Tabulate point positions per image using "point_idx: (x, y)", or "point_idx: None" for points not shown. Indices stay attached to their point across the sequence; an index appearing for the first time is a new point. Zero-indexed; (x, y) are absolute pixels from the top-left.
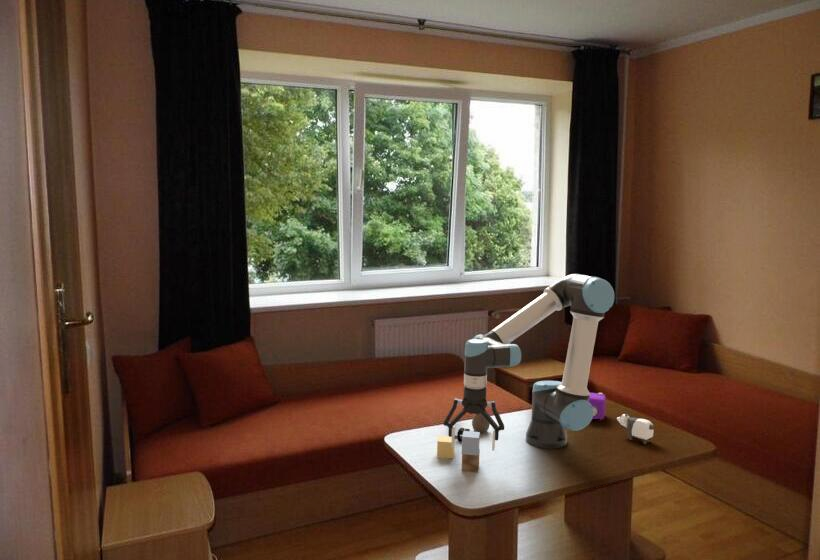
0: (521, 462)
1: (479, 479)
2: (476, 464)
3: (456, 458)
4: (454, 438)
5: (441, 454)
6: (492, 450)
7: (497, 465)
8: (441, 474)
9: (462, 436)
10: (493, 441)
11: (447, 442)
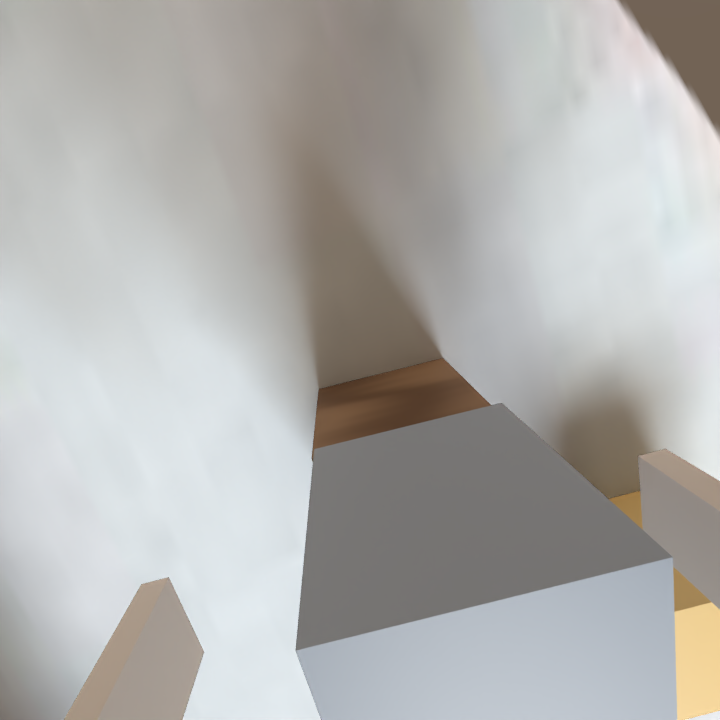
0: None
1: (263, 271)
2: (332, 408)
3: None
4: (709, 598)
5: None
6: (164, 580)
7: (231, 554)
8: (575, 221)
9: (666, 570)
10: (84, 711)
11: (696, 602)
